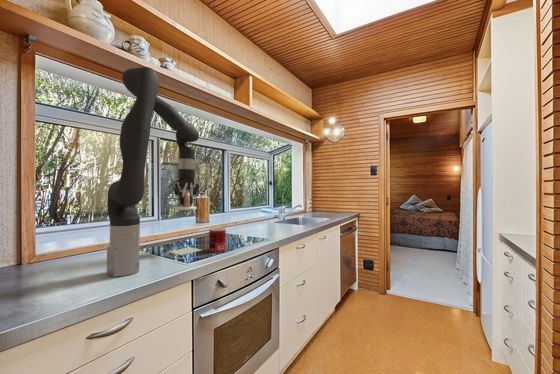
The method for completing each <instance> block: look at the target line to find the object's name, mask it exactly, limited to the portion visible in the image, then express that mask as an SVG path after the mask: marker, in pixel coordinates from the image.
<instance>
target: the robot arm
mask: <svg viewBox="0 0 560 374" xmlns="http://www.w3.org/2000/svg"><path fill="white" fill-rule="evenodd" d="M121 78H122V79H121V80H122V83H123V85H124V87H125V88H126V90H127V91H128V92H129V93H130V94H132V95H133V96H134V97H135V98H136V99H135V101H134V104H133V106H132V107H131V109H129V112H128V113H127V114H126V116H125V117H124V119H123V120H122V123H121V128H120V135H119V149H120V153H121V160H122V169H121V175H120V178H119V180H115V181H114V182H112V183H111V185H109V187H108V190H107V215H108V219H109V246H107V247H106V275H108V276H111V277H113V278H116V277H123V276H125V277H126V276H131V275H134V274H136V273H138V272H139V271H140V233H141V232H140V229H141V219H140V218H141V216H140V215H139V214H138V213H137V209H136V205H138V204H139V203H140V202H141V201H143V198H144V194H145V171H146V170H145V169H146V164H147V163H146V161H147V157H148V155H147V154H148V147H149V144H150V136H151V135H150V134H151V126H152V119H153V115H154V114H153V113H156V114H157V115H158V116H159V117H160V118H161V119H162V120H163V121H164V122H165V123H166V124H167V125H168V126H169V127H170V129H172V130H173V131H176V132H175V140H176V143H177V147H178V163H177V166H178V167H177V168H178V169H177V177H178V180H177V182H174V183H172V189H173V192H174V195H175V196H176V197H179V199H178V200H179V202H178V203H179V205H180V206H182V205H184V194H185V192H189V193H190V206H192V204H193V198H194V196H197V193H198V190H199V187H200V184H199V183H196V182H195V179H196V175H195V174H196V162H195V156H196V155H195V154H196V153H195V148H193V147H192V146H189V145H188V143H195V142H197V141H198V140H199V137H200V133H199V130H198V129H197V128H196V127H195V125H193V124H191V123H190V121H188V120H186V119H184V117H183V116H182V115H181V114H180V113H179V111H178V110H177V109H176V108H175V107H174V106H172V105H170V104H169V103H168V102H167V101H164V100H163V99H161V98H160V97H158V92H159V88H160V87H159V86H160V82H159V81H160V80H159V76H158V73H157V72H156V71H155V69H153V68H152V67H148V66H144V67H143V66H142V67H132V68H127V69H126V70H124V71H123V73H122V77H121Z"/></svg>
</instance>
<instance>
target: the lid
mask: <svg viewBox="0 0 560 374" xmlns="http://www.w3.org/2000/svg"><path fill="white" fill-rule="evenodd" d="M174 210H175V211H193V210H198V207H197V206H192V205H190V193H189V192H187V191H186V192H185V194H184V205H181V206H175V207H174Z"/></svg>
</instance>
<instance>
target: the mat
mask: <svg viewBox="0 0 560 374" xmlns="http://www.w3.org/2000/svg"><path fill="white" fill-rule="evenodd" d="M200 251H202V249H201V248H200V249H199V248H196V247H191V246H189V247H184V248H178V249H174V250H170V251H168V253H171V254H175V255H178V256H182V255H187V254H192V253H195V252H200Z"/></svg>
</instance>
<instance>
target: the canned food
mask: <svg viewBox="0 0 560 374" xmlns="http://www.w3.org/2000/svg"><path fill="white" fill-rule="evenodd" d="M226 233H227V232H226V228H225V227H211V228H209V231H208V237H209V238H208V243H209V244H208V252H210V253H221V252H225V251H226V245H227V244H226Z"/></svg>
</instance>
